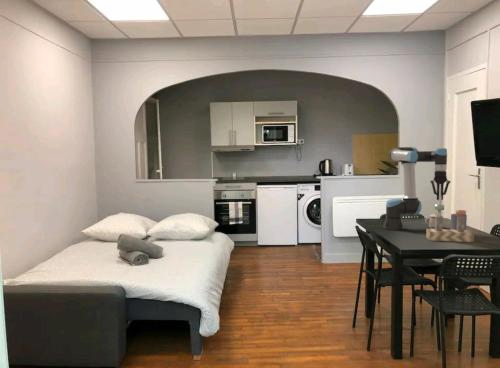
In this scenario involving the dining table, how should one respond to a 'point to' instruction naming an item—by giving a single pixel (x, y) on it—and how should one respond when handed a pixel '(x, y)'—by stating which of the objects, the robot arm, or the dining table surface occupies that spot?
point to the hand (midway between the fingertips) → (439, 204)
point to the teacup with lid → (432, 220)
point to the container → (454, 221)
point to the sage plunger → (439, 209)
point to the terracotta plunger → (461, 213)
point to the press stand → (450, 232)
